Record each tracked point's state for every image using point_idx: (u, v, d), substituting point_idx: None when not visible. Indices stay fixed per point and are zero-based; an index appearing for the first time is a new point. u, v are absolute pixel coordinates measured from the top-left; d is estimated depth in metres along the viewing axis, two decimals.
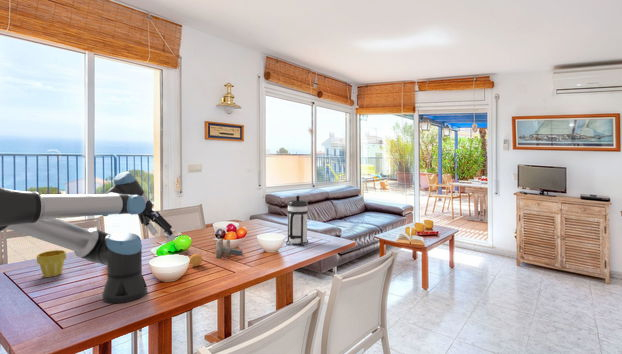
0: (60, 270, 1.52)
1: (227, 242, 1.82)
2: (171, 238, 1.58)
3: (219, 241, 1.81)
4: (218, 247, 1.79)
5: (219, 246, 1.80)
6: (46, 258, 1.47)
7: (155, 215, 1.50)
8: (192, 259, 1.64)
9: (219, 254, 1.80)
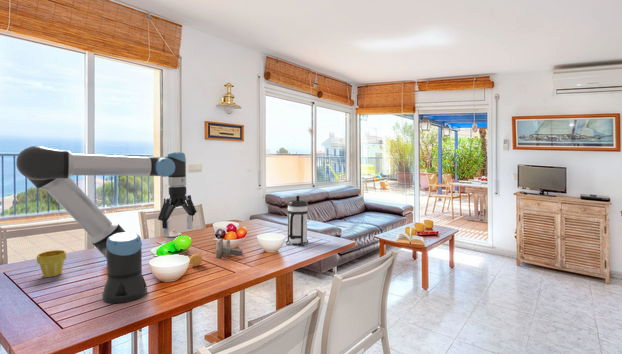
0: (60, 270, 1.52)
1: (227, 242, 1.82)
2: (164, 232, 1.51)
3: (219, 241, 1.81)
4: (218, 247, 1.79)
5: (219, 246, 1.80)
6: (46, 258, 1.47)
7: (164, 200, 1.50)
8: (192, 259, 1.64)
9: (219, 254, 1.80)
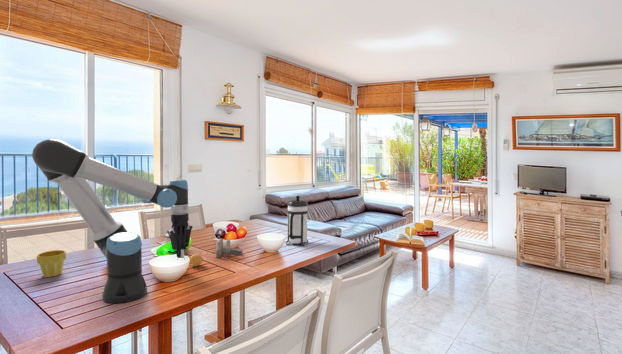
0: (60, 270, 1.52)
1: (227, 242, 1.82)
2: None
3: (219, 241, 1.81)
4: (218, 247, 1.79)
5: (219, 246, 1.80)
6: (46, 258, 1.47)
7: (168, 233, 1.52)
8: (192, 259, 1.64)
9: (219, 254, 1.80)
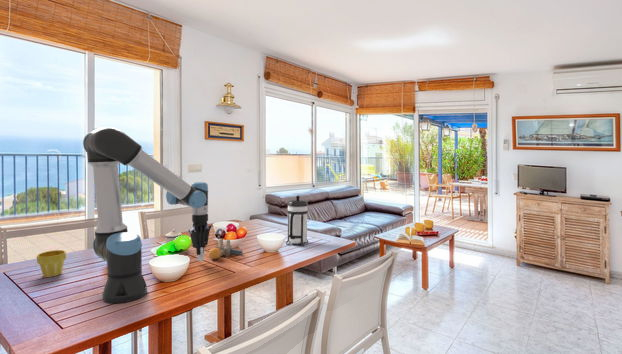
0: (60, 270, 1.52)
1: (227, 242, 1.82)
2: (198, 258, 1.69)
3: (230, 246, 1.89)
4: None
5: None
6: (46, 258, 1.47)
7: (189, 232, 1.63)
8: None
9: (223, 252, 1.83)
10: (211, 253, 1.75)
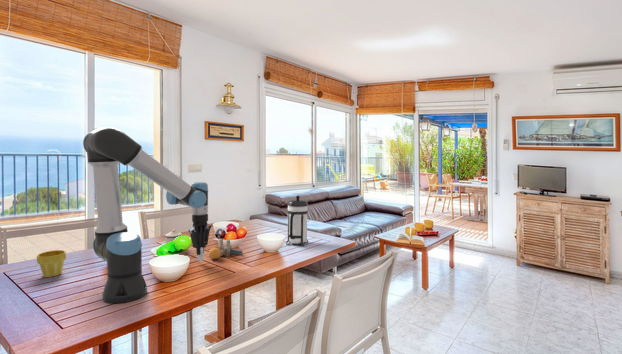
0: (60, 270, 1.52)
1: (227, 242, 1.82)
2: (198, 258, 1.69)
3: (230, 246, 1.89)
4: None
5: None
6: (46, 258, 1.47)
7: (189, 232, 1.63)
8: None
9: (223, 252, 1.83)
10: (211, 253, 1.75)
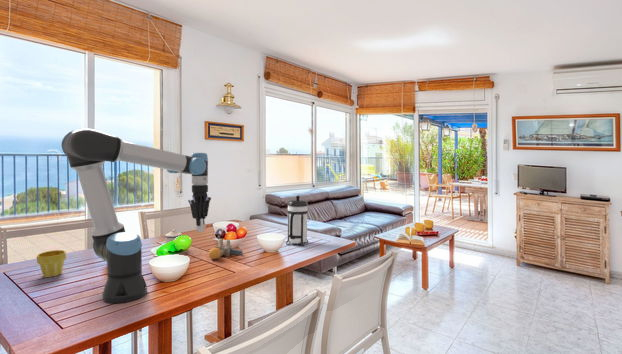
0: (60, 270, 1.52)
1: (227, 242, 1.82)
2: (198, 229, 1.68)
3: (230, 246, 1.89)
4: None
5: None
6: (46, 258, 1.47)
7: (189, 202, 1.62)
8: None
9: (223, 252, 1.83)
10: (211, 253, 1.75)
